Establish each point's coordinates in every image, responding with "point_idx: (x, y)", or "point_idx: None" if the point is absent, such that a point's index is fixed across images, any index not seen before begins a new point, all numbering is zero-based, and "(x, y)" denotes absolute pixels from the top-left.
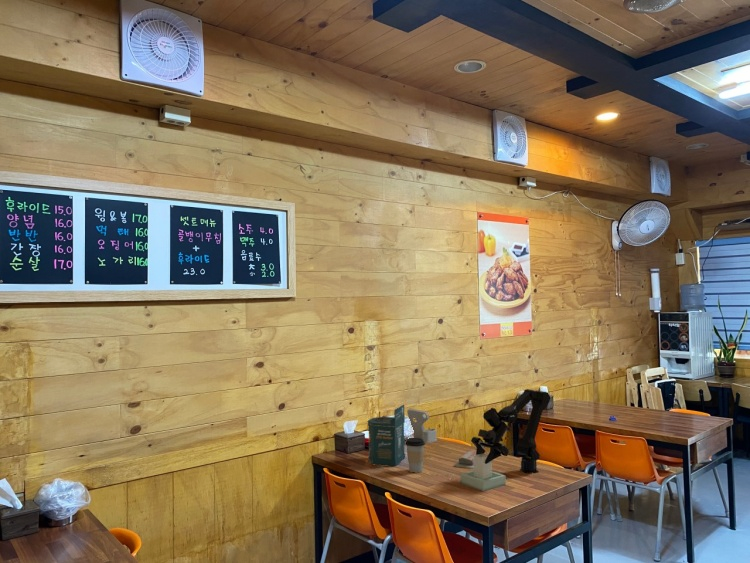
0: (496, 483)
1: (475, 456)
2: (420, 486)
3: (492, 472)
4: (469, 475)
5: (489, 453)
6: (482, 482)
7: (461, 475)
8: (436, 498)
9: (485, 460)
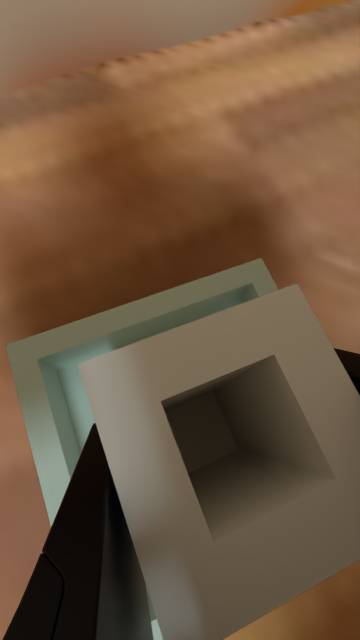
0: None
1: (251, 300)
2: (230, 88)
3: None
4: None
5: (75, 610)
6: (18, 344)
7: (249, 266)
8: (33, 88)
9: None
